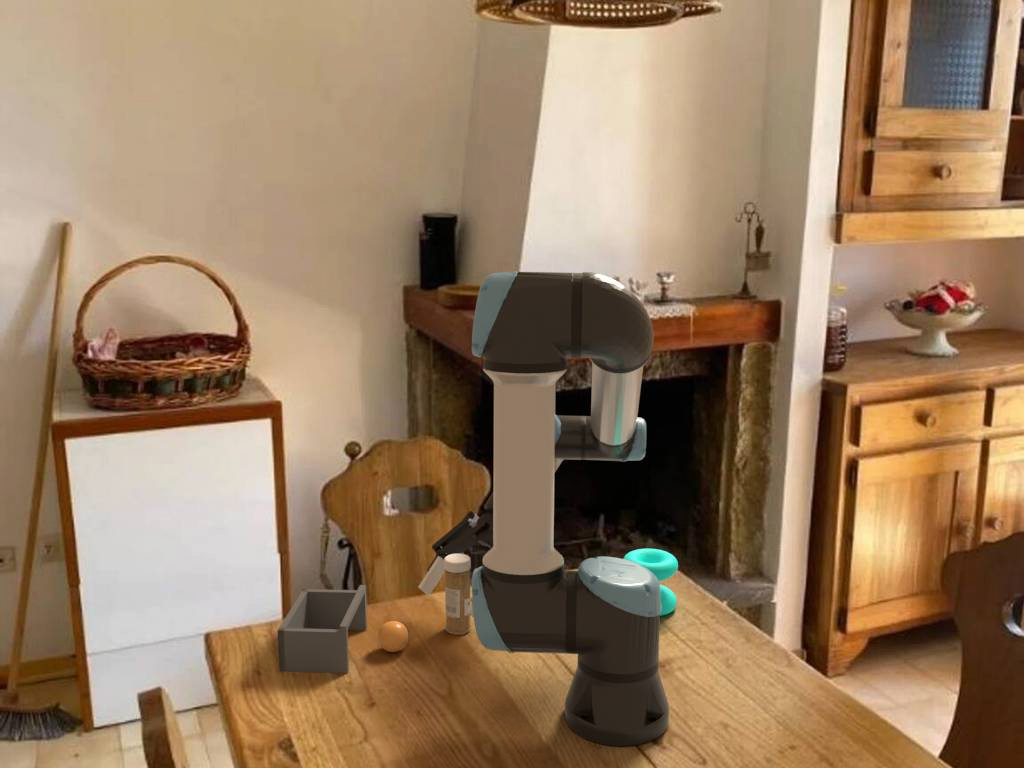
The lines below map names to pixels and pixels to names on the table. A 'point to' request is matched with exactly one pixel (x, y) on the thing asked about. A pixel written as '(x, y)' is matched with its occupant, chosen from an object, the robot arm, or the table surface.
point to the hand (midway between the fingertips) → (447, 603)
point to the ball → (393, 636)
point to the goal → (321, 630)
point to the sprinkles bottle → (457, 593)
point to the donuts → (658, 572)
